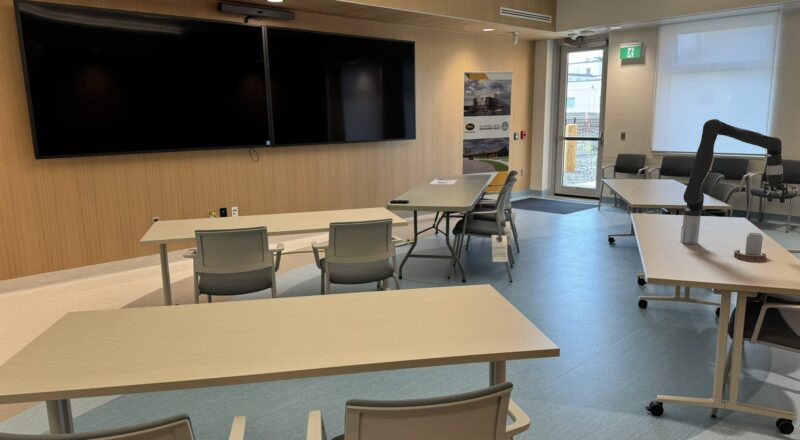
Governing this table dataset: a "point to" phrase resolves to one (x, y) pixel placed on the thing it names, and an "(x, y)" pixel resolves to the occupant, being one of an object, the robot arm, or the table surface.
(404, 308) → the table surface
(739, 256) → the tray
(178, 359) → the table surface
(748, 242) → the can
